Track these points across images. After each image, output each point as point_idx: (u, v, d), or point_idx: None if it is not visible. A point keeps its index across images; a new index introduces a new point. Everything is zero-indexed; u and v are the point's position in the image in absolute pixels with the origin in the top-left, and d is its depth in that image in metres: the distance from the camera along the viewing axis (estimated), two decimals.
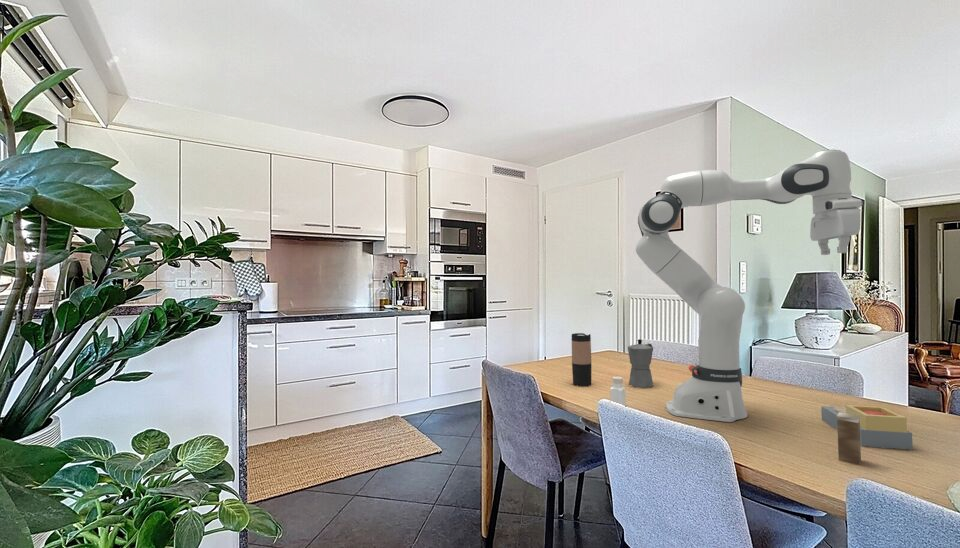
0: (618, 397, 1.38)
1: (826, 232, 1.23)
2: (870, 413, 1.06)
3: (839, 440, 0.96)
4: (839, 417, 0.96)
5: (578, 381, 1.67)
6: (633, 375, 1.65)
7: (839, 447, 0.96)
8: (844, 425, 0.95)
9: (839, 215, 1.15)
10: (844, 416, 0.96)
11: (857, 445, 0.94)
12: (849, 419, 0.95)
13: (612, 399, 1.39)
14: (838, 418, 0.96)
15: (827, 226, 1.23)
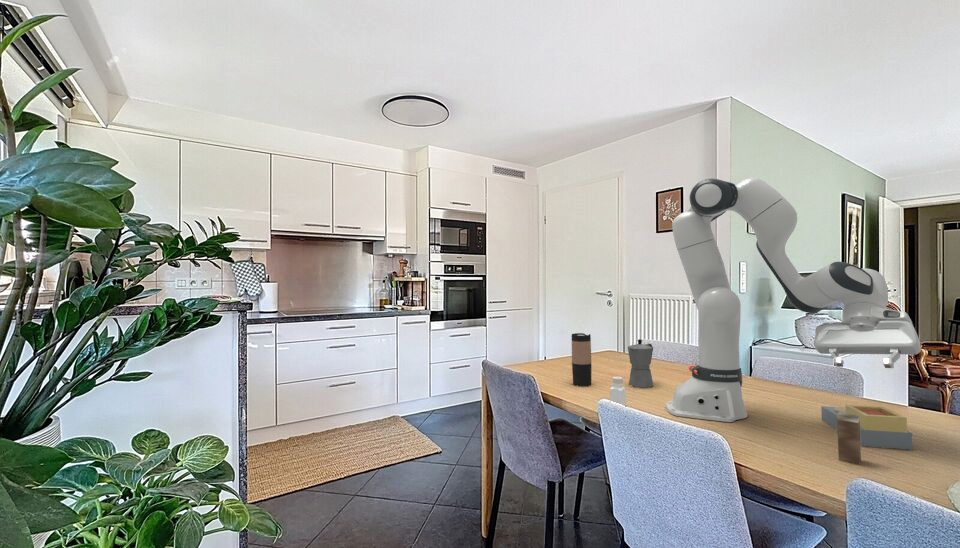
0: (618, 397, 1.38)
1: (865, 341, 1.07)
2: (870, 413, 1.06)
3: (839, 440, 0.96)
4: (839, 417, 0.96)
5: (578, 381, 1.67)
6: (633, 375, 1.65)
7: (839, 447, 0.96)
8: (844, 425, 0.95)
9: (911, 326, 1.02)
10: (844, 416, 0.96)
11: (857, 445, 0.94)
12: (849, 419, 0.95)
13: (612, 399, 1.39)
14: (838, 418, 0.96)
15: (867, 335, 1.07)
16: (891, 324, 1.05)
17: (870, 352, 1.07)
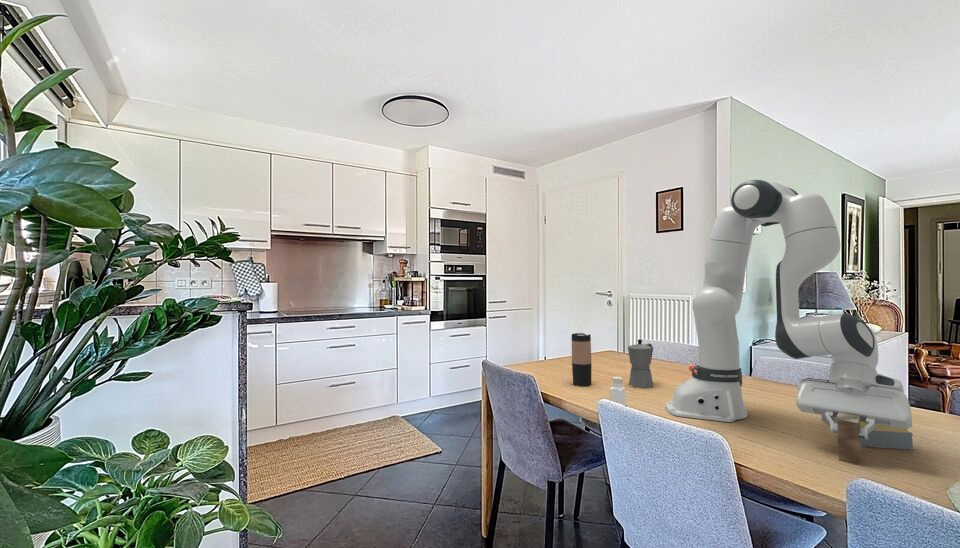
0: (618, 397, 1.38)
1: (853, 406, 0.97)
2: None
3: (839, 440, 0.96)
4: (839, 417, 0.96)
5: (578, 381, 1.67)
6: (633, 375, 1.65)
7: (839, 447, 0.96)
8: (843, 425, 0.95)
9: (905, 398, 0.93)
10: (844, 416, 0.96)
11: (857, 445, 0.94)
12: (849, 419, 0.95)
13: (612, 399, 1.39)
14: (838, 418, 0.96)
15: (856, 400, 0.98)
16: (883, 392, 0.96)
17: None
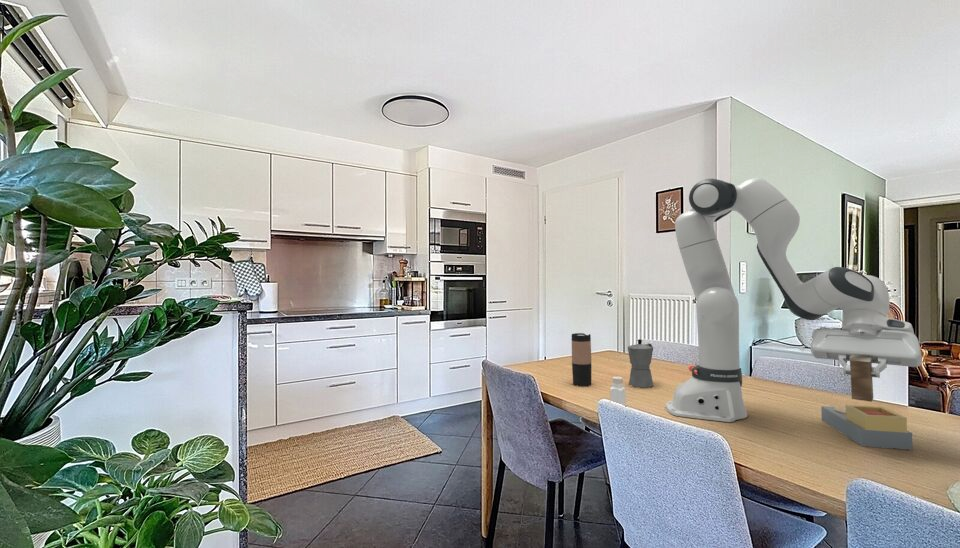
0: (618, 397, 1.38)
1: (865, 349, 1.03)
2: (870, 413, 1.06)
3: (852, 380, 1.01)
4: (852, 358, 1.01)
5: (578, 381, 1.67)
6: (633, 375, 1.65)
7: (852, 386, 1.01)
8: (856, 366, 1.01)
9: (915, 338, 0.98)
10: (856, 357, 1.01)
11: (869, 383, 0.99)
12: (861, 359, 1.00)
13: (612, 399, 1.39)
14: (851, 359, 1.01)
15: (868, 343, 1.03)
16: (894, 334, 1.01)
17: None
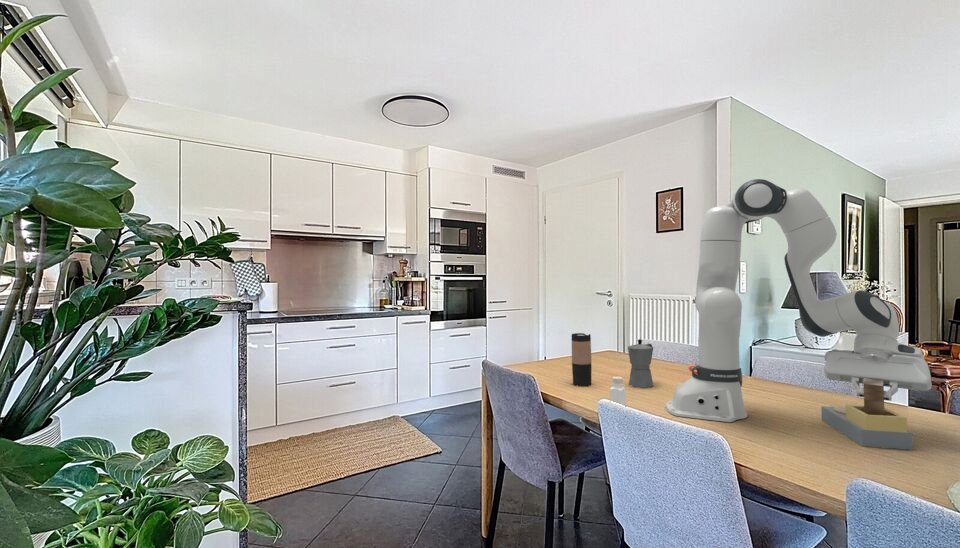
0: (618, 397, 1.38)
1: (877, 372, 1.08)
2: None
3: (865, 402, 1.06)
4: (865, 381, 1.06)
5: (578, 381, 1.67)
6: (633, 375, 1.65)
7: (865, 408, 1.06)
8: (869, 389, 1.06)
9: (925, 363, 1.04)
10: (869, 380, 1.06)
11: (882, 406, 1.04)
12: (874, 383, 1.05)
13: (612, 399, 1.39)
14: (864, 382, 1.07)
15: (880, 367, 1.09)
16: (905, 359, 1.06)
17: None
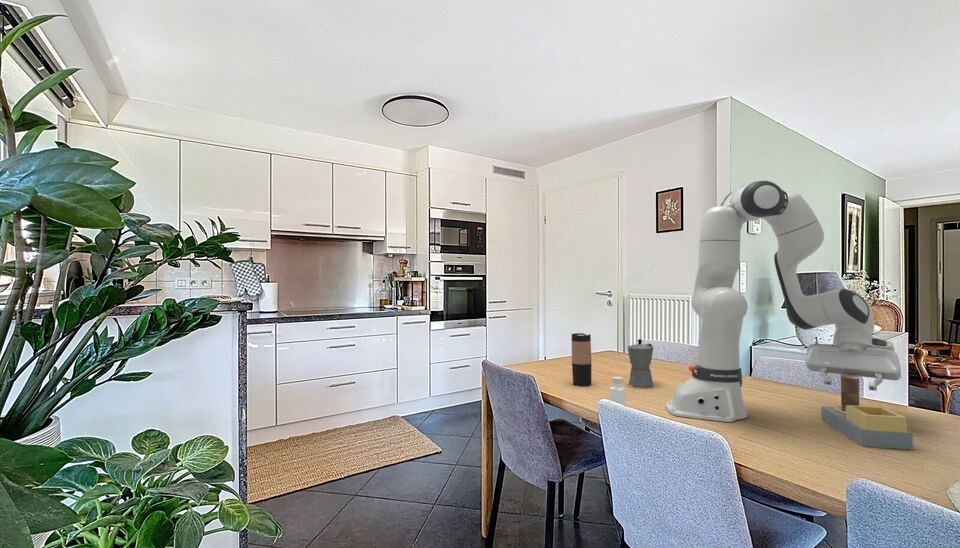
0: (618, 397, 1.38)
1: (853, 364, 1.18)
2: None
3: (842, 394, 1.17)
4: (842, 375, 1.17)
5: (578, 381, 1.67)
6: (633, 375, 1.65)
7: (842, 400, 1.17)
8: (846, 382, 1.16)
9: (895, 355, 1.14)
10: (846, 374, 1.17)
11: (857, 397, 1.15)
12: (850, 376, 1.16)
13: (612, 399, 1.39)
14: (841, 376, 1.17)
15: (855, 359, 1.19)
16: (878, 351, 1.17)
17: None
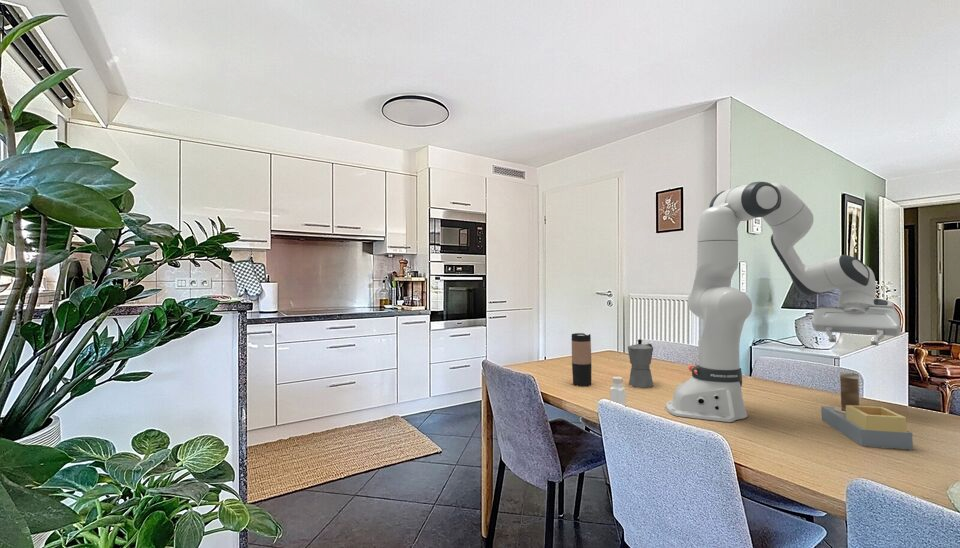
0: (618, 397, 1.38)
1: (856, 322, 1.28)
2: None
3: (842, 394, 1.17)
4: (842, 375, 1.17)
5: (578, 381, 1.67)
6: (633, 375, 1.65)
7: (842, 400, 1.17)
8: (845, 382, 1.16)
9: (895, 313, 1.23)
10: (846, 374, 1.17)
11: (856, 397, 1.15)
12: (850, 376, 1.16)
13: (612, 399, 1.39)
14: (841, 376, 1.17)
15: (859, 318, 1.28)
16: (879, 310, 1.26)
17: (859, 332, 1.28)
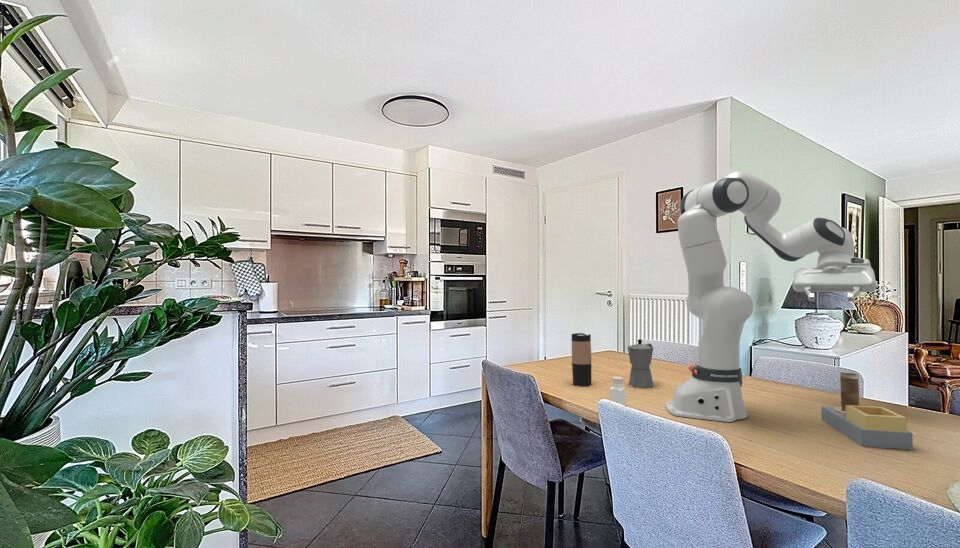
0: (618, 397, 1.38)
1: (834, 280, 1.31)
2: None
3: (842, 394, 1.17)
4: (842, 375, 1.17)
5: (578, 381, 1.67)
6: (633, 375, 1.65)
7: (842, 400, 1.17)
8: (845, 382, 1.16)
9: (871, 270, 1.27)
10: (846, 374, 1.17)
11: (856, 397, 1.15)
12: (850, 376, 1.16)
13: (612, 399, 1.39)
14: (841, 376, 1.17)
15: (836, 276, 1.32)
16: (856, 268, 1.30)
17: (836, 290, 1.32)
